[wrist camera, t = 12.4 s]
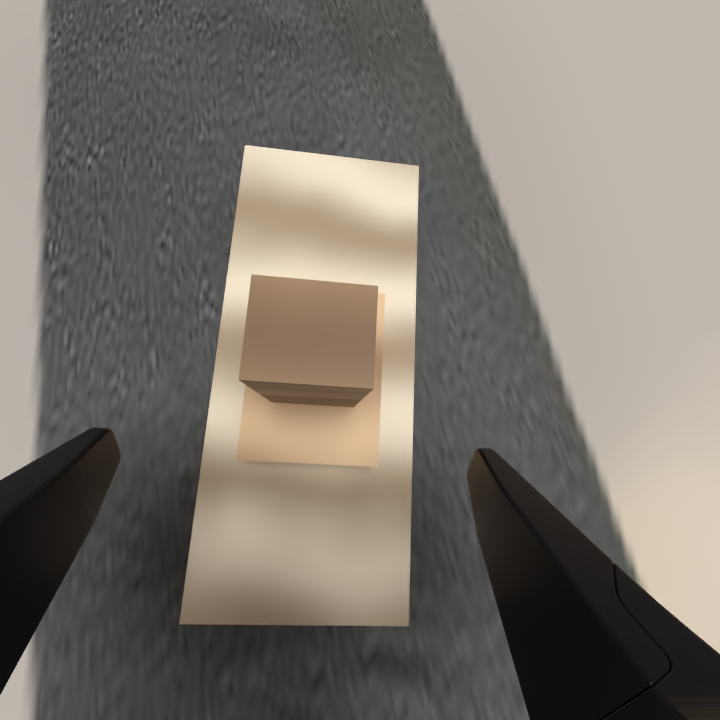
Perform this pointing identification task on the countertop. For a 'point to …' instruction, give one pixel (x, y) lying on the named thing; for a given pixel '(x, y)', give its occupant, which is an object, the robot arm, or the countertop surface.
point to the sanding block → (311, 372)
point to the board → (299, 480)
